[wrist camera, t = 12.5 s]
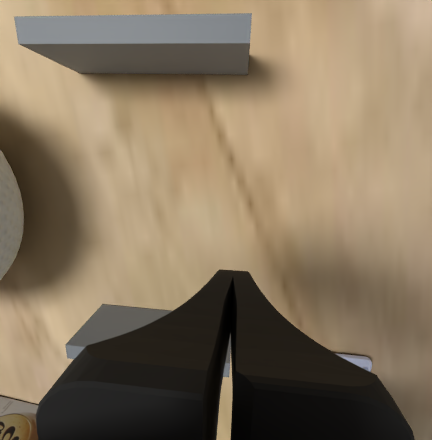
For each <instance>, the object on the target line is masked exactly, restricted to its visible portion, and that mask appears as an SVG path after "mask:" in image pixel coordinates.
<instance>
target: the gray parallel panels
mask: <svg viewBox="0 0 432 440" xmlns="http://www.w3.org/2000/svg"><path fill="white" fill-rule="evenodd" d="M251 17H252V13H248V14H174V15H99V16H25V17H14V18H15V25H16V31H17V38H18V44H20V45H22V46H24V47H26V48H28V49H30V50H32V51H34V52H36V53H38V54H40V55H43V56H45V57H47V58H49V59H51V60H53V61H55V62H57V63H59V64H61V65H63V66H65V67H67V68H70V69H72V70H74V71H76V72H78V73H118V74H235V75H248V63H249V49H250V33H251ZM170 312H172V311H168V310H157V309H147V308H137V307H126V306H116V305H105V304H102V305H101V307H100V308H99V309H98V310H97V311H96V312H95V313H94V314H93V315H92V316H91V317H90V319H89V320H88V321H87V322H86V323H85V324H84V325H83V326H82V327H81V328H80V329H79V331H78V332H77V333H76V334H75V335H74V336H73V337H72V338H71V339H70V340H69V341H68V343H67V344H66V352H67V358H70V359H75V358H76V357H77V356H78V354H79V353H80V352H81V351H82V350H83V349H84V348H85V347H86V346H87V345H90V344H94V343H97V342H100V341H103V340H107V339H110V338H113V337H116V336H120V335H122V334H125V333H128V332H130V331H133V330H135V329H138V328H140V327H143V326H145V325H147V324H149V323H152V322H154V321H155V320H157V319H159V318H161V317H163V316H165V315H167V314H169V313H170ZM230 354H231V333H230V339H229V345H228V351H227V356H226V362H225V368H224V373H223V377H229V370H230Z"/></svg>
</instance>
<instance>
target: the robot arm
mask: <svg viewBox="0 0 432 440" xmlns="http://www.w3.org/2000/svg"><path fill="white" fill-rule="evenodd" d="M230 333H231V359H232V383H233V401H232V423H231V440H415V439H414V436H413V432H412V429H411V428H410V426H409V425H408V423H407V421H406V420H405V418H404V416H403V415H402V413H401V411H400V410H399V408H398V406H397V405H396V403H395V401H394V400H393V398H392V397H391V395H390V394H389V392H388V391H387V390H386V388H385V387H384V385H383V384H382V382H381V381H380V380H379V378H378V377H377V375H375V374H373V373H371V372H370V371H371V368H372V362H371V360H370V359H369V358H368V357H365V356H355V355H346V354H336V353H333V352H331V351H330V350H328V349H326V348H325V347H323V346H321V345H320V344H318V343H317V342H315V341H314V340H312V339H311V338H309V337H308V336H307V335H305V334H304V333H303V332H301V331H300V330H299V329H297V328H296V327H295V326H294V325H292V324H291V323H290V322H289V321H288V320H287V319H285V318H284V317H283V316H282V315H281V314H280V313H279V312H278V311H277V310H276V309H275V308H274V307H273V306H272V305H271V303H270V302H269V301H268V300H267V299H266V297H265V296H264V295H263V293H262V292H261V291H260V289H259V288H258V286H257V285H256V283H255V282H254V280H253V278H252V277H251V274H250V273H249V272H247V271H233V270H219V271H217V273H216V274H215V275H214V276H213V277H212V278H211V280H210V281H209V282H208V283H207V284H206V285H205V286H204V287H203V288H202V289H201V290H200V291H199V292H198V293H196V294H195V295H194V296H193V297H192V298H191V299H189V300H188V301H187V302H186V303H184V304H183V305H181V306H180V307H178V308H177V309H175V310H174V311H172V312H170V313H169V314H167V315H165V316H163V317H161V318H159V319H157V320H155V321H154V322H152V323H149V324H147V325H145V326H143V327H140V328H138V329H135V330H133V331H130V332H128V333H125V334H122V335H120V336H116V337H113V338H110V339H107V340H103V341H100V342H97V343H94V344H90V345H87V346H86V347H85V348H84V349H83V350H82V351H81V352H80V353H79V354H78V356H77V357H76V358H75V359H74V360H73V361H72V363H71V364H70V365H69V366H68V368H67V369H66V370H65V371H64V373H63V374H62V375H61V376H60V378H59V379H58V380H57V381H56V383H55V384H54V385H53V386H52V388H51V389H50V390H49V391H48V393H47V394H46V395H45V396H44V397H43V399H42V400H41V401H40V402H39V406H38V409H37V412H36V428H37V435H38V439H39V440H216V436H217V424H218V413H219V401H220V392H221V385H222V379H223V373H224V368H225V362H226V356H227V351H228V345H229V339H230ZM363 367H365V368H363Z"/></svg>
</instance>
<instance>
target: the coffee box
mask: <svg viewBox="0 0 432 440" xmlns="http://www.w3.org/2000/svg"><path fill="white" fill-rule="evenodd" d="M38 406H39V405H35V404H31V403H27V402H23V401H18V400H14V399H10V398H5V397H1V396H0V440H39V439H38V435H37V428H36V412H37V409H38Z"/></svg>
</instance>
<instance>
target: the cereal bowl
mask: <svg viewBox="0 0 432 440" xmlns="http://www.w3.org/2000/svg"><path fill="white" fill-rule="evenodd" d="M22 203H23V201H22V199H21V193H20V189H19V187H18V184H17V182H16V177H15V176H14V174H13V171H12V169H11V167H10V165H9V164H8V162H7V160H6V158H5V156H4V154H3V152H2V151H1V150H0V280H1V279H2V278H3V276H4V275H5V274H6V273H7V271H8V269H9V268H10V266H11V265H12V264H13V261H14V259H15V258H16V256H17V252H18V250H19V248H20V243H21V241H22V235H23V225H24V212H23V204H22Z"/></svg>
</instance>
